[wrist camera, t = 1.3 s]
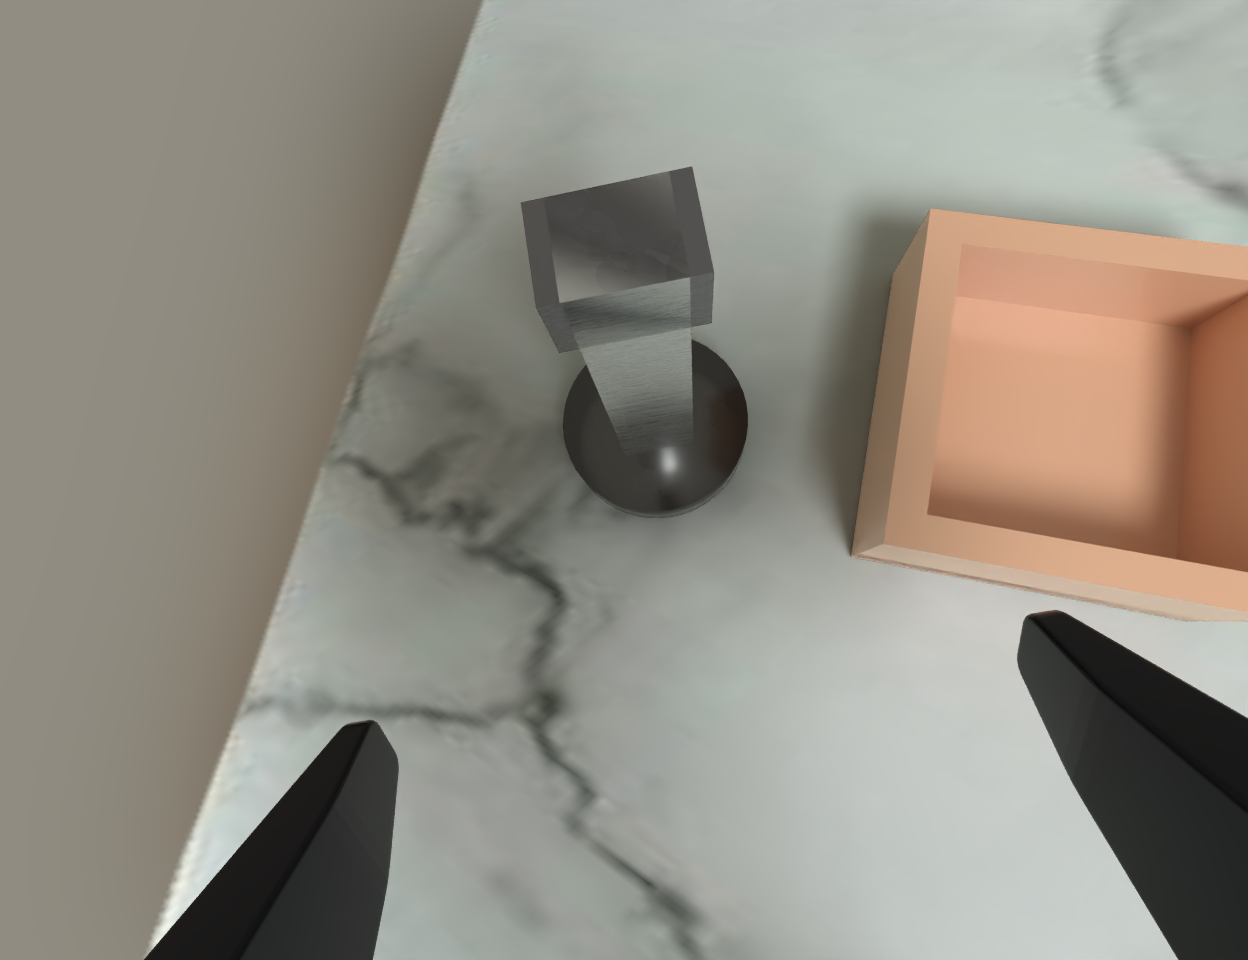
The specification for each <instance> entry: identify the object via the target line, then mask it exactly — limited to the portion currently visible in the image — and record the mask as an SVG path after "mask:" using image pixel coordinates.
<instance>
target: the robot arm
mask: <svg viewBox="0 0 1248 960" xmlns="http://www.w3.org/2000/svg"><path fill="white" fill-rule="evenodd" d="M1017 662H1018V667H1019V670H1020V673H1021V675H1022V678H1023V680H1024V682H1025V684H1026V686H1027V688H1028V691H1029V693H1030V695H1031V697H1032V699H1033V701H1034V703H1035V705H1036V708H1037V710H1038V712H1039V714H1040V716H1041V718H1042V720H1043V723H1044V725H1045V727H1046V729H1047V731H1048V733H1049V735H1050V738H1051V740H1052V742H1053V744H1054V746H1055V748H1056V750H1057V753H1058V755H1059V757H1060V759H1061V761H1062V763H1063V765H1064V767H1065V769H1066V771H1067V773H1068V775H1069V777H1070V779H1071V781H1072V783H1073V785H1074V787H1075V788H1076V790H1077V792H1078V794H1079V795H1080V797H1081V799H1082V801H1083V802H1084V804H1085V806H1086V807H1087V809H1088V811H1089V812H1090V814H1091V816H1092V817H1093V819H1094V821H1095V822H1096V824H1097V826H1098V827H1099V829H1100V830H1101V832H1102V834H1103V835H1104V837H1105V839H1106V840H1107V842H1108V844H1109V845H1110V847H1111V849H1112V850H1113V852H1114V854H1115V855H1116V857H1117V859H1118V860H1119V862H1120V864H1121V865H1122V867H1123V869H1124V870H1125V872H1126V874H1127V875H1128V877H1129V879H1130V880H1131V882H1132V884H1133V885H1134V887H1135V889H1136V890H1137V892H1138V894H1139V895H1140V897H1141V899H1142V900H1143V902H1144V904H1145V905H1146V907H1147V909H1148V910H1149V912H1150V914H1151V915H1152V917H1153V918H1154V920H1155V922H1156V923H1157V925H1158V927H1159V928H1160V930H1161V932H1162V933H1163V935H1164V937H1165V938H1166V940H1167V942H1168V943H1169V945H1170V947H1171V948H1172V950H1173V952H1174V953H1175V955H1176V957H1177V958H1178V960H1248V718H1247V717H1245V716H1243V715H1242V714H1240V713H1238V712H1236V711H1235V710H1233V709H1231V708H1229V707H1228V706H1226V705H1224V704H1223V703H1221V702H1219V701H1217V700H1216V699H1214V698H1212V697H1210V696H1209V695H1207V694H1205V693H1203V692H1202V691H1200V690H1198V689H1197V688H1195V687H1193V686H1191V685H1190V684H1188V683H1186V682H1184V681H1183V680H1181V679H1179V678H1177V677H1176V676H1174V675H1172V674H1171V673H1169V672H1167V671H1165V670H1164V669H1162V668H1160V667H1158V666H1157V665H1155V664H1153V663H1151V662H1150V661H1148V660H1146V659H1145V658H1143V657H1141V656H1139V655H1138V654H1136V653H1134V652H1132V651H1131V650H1129V649H1127V648H1125V647H1124V646H1122V645H1120V644H1119V643H1117V642H1115V641H1113V640H1112V639H1110V638H1108V637H1106V636H1105V635H1103V634H1101V633H1099V632H1098V631H1096V630H1094V629H1093V628H1091V627H1089V626H1087V625H1086V624H1084V623H1082V622H1080V621H1079V620H1077V619H1075V618H1073V617H1072V616H1070V615H1068V614H1066V613H1064V612H1061V611H1058V610H1052V611H1045V612H1039V613H1033V614H1029V615H1028V616H1027V617H1026V618H1025V619H1024V622H1023V626H1022V632H1021V637H1020V643H1019V648H1018V653H1017ZM398 771H399V765H398V758H397V755H396V753H395V751H394V749H393V747H392V746H391V744H390V742H389V741H388V739H387V737H386V736H385V734H384V732H383V731H382V729H381V727H380V726H379V724H378V723H377V722H375V721H373V720H366V721H360V722H354V723H349V724H347V725H345V726H343V727H342V728H341V729H340V730H339V731H338V732H337V734H336V735H335V736H334V737H333V738H332V739H331V741H330V742H329V743H328V744H327V745H326V747H325V748H324V749H323V750H322V751H321V752H320V754H319V755H318V756H317V757H316V758H315V759H314V761H313V762H312V763H311V764H310V765H309V766H308V768H307V769H306V770H305V771H304V772H303V774H302V775H301V776H300V777H299V778H298V779H297V781H296V782H295V783H294V784H293V785H292V786H291V788H290V789H289V790H288V791H287V792H286V793H285V795H284V796H283V797H282V798H281V799H280V801H279V802H278V803H277V804H276V805H275V806H274V808H273V809H272V810H271V811H270V812H269V813H268V815H267V816H266V817H265V818H264V819H263V820H262V822H261V823H260V824H259V825H258V826H257V827H256V829H255V830H254V831H253V832H252V833H251V835H250V836H249V837H248V838H247V839H246V840H245V842H244V843H243V844H242V845H241V846H240V847H239V849H238V850H237V851H236V852H235V853H234V854H233V856H232V857H231V858H230V859H229V860H228V862H227V863H226V864H225V865H224V866H223V867H222V869H221V870H220V871H219V872H218V873H217V874H216V876H215V877H214V878H213V879H212V880H211V881H210V883H209V884H208V885H207V886H206V887H205V889H204V890H203V891H202V892H201V893H200V894H199V896H198V897H197V898H196V899H195V900H194V901H193V903H192V904H191V905H190V906H189V907H188V908H187V910H186V911H185V912H184V913H183V914H182V916H181V917H180V918H179V919H178V920H177V921H176V923H175V924H174V925H173V926H172V927H171V928H170V930H169V931H168V932H167V933H166V934H165V935H164V937H163V938H162V939H161V940H160V941H159V943H158V944H157V945H156V946H155V947H154V948H153V950H152V951H151V952H150V953H149V954H148V955H147V957H146V958H145V959H144V960H373V956H374V951H375V946H376V941H377V936H378V931H379V926H380V921H381V915H382V910H383V905H384V900H385V895H386V889H387V883H388V876H389V868H390V859H391V848H392V837H393V826H394V815H395V804H396V793H397V783H398Z"/></svg>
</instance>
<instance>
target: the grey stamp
mask: <svg viewBox="0 0 1248 960" xmlns="http://www.w3.org/2000/svg"><path fill="white" fill-rule="evenodd" d="M521 206H522V213H523V220H524V227H525V234H526V241H527V247H528V254H529V261H530V268H531V275H532V282H533V289H534V295H535V302H536V308H537V310H538V312H539V314H540V316H541V318H542V320H543V322H544V324H545V326H546V327H547V329H548V331H549V333H550V335H551V337H552V339H553V341H554V343H555V345H556V347H557V349H558V351H559V353H561V352H566V351H571V350H576V349H580V351H581V353H582V356H583V358H584V360H585V363H586V366H585V367H584V368H583V369H582V371H581V372H580V373H579V375H578V376H577V378H576V380H575V381H574V383H573V385H572V387H571V389H570V392H569V395H568V398H567V401H566V405H565V410H564V419H563V429H564V439H565V443H566V448H567V451H568V453H569V456H570V459H571V461H572V463H573V464H574V466H575V468H576V470H577V471H578V473H579V474H580V475H581V477H582V478H583V480H584V481H585V482H586V483H587V484H588V486H589V487H590V488H591V489H592V490H593V491H594V492H595V493H596V494H597V495H598V496H599V497H600V498H601V499H603V500H604V501H605V502H606V503H608V504H610V505H611V506H613V507H615V508H616V509H619V510H621V511H623V512H625V513H628V514H632V515H635V516H640V517H647V518H665V517H673V516H677V515H681V514H685V513H687V512H690V511H692V510H695V509H697V508H698V507H700V506H702V505H704V504H705V503H707V502H708V501H710V500H711V499H712V498H714V497H715V496H716V495H717V494H718V493H719V492H720V491H721V490H722V489H723V488H724V487H725V485H726V484H727V483H728V482H729V480H730V479H731V477H732V476H733V474H734V472H735V471H736V468H737V466H738V464H739V461H740V458H741V455H742V451H743V448H744V444H745V440H746V435H747V428H748V413H747V405H746V401H745V397H744V393H743V390H742V388H741V386H740V384H739V381H738V380H737V378H736V376H735V375H734V373H733V371H732V370H731V369H730V368H729V366H728V365H727V364H726V363H725V362H724V361H723V360H722V359H721V358H720V357H719V356H718V355H717V354H716V353H714V352H713V351H712V350H710V349H709V348H707V347H706V346H704V345H702V344H700V343H698V342H696V341H694V340H691V327H694V326H699V325H705V324H710V323H712V303H713V282H714V270H713V265H712V260H711V255H710V251H709V246H708V241H707V236H706V231H705V227H704V222H703V217H702V212H701V207H700V203H699V198H698V193H697V188H696V183H695V179H694V174H693V169H692V167H687V168H683V169H678V170H673V171H668V172H664V173H659V174H654V175H649V176H645V177H640V178H635V179H630V180H626V181H621V182H616V183H612V184H607V185H602V186H597V187H593V188H588V189H583V190H578V191H574V192H569V193H564V194H559V195H555V196H550V197H545V198H540V199H536V200H531V201H526V202H522V203H521Z"/></svg>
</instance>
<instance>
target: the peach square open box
mask: <svg viewBox="0 0 1248 960" xmlns="http://www.w3.org/2000/svg"><path fill="white" fill-rule="evenodd" d="M851 557H854V558H859V559H864V560H870V561H875V562H880V563H885V564H890V565H896V566H901V567H906V568H911V569H917V570H922V571H927V572H932V573H937V574H943V575H948V576H953V577H958V578H963V579H969V580H974V581H979V582H984V583H990V584H995V585H1000V586H1005V587H1010V588H1016V589H1021V590H1026V591H1031V592H1036V593H1042V594H1047V595H1052V596H1057V597H1063V598H1068V599H1073V600H1078V601H1083V602H1089V603H1094V604H1099V605H1104V606H1110V607H1115V608H1120V609H1125V610H1130V611H1136V612H1141V613H1146V614H1151V615H1156V616H1162V617H1167V618H1172V619H1177V620H1183V621H1227V622H1248V247H1245V246H1237V245H1228V244H1220V243H1212V242H1203V241H1195V240H1187V239H1179V238H1170V237H1162V236H1154V235H1146V234H1137V233H1129V232H1121V231H1113V230H1104V229H1096V228H1088V227H1079V226H1071V225H1063V224H1055V223H1046V222H1038V221H1030V220H1022V219H1013V218H1005V217H997V216H989V215H980V214H972V213H964V212H955V211H947V210H939V209H930V210H929V212H928V214H927V216H926V217H925V219H924V221H923V223H922V224H921V226H920V228H919V230H918V232H917V233H916V235H915V237H914V239H913V240H912V242H911V244H910V246H909V247H908V249H907V251H906V253H905V254H904V256H903V258H902V260H901V261H900V263H899V265H898V267H897V268H896V270H895V272H894V274H893V276H892V283H891V289H890V296H889V303H888V310H887V316H886V323H885V330H884V337H883V343H882V350H881V357H880V363H879V370H878V377H877V384H876V390H875V397H874V404H873V411H872V417H871V424H870V431H869V438H868V444H867V451H866V458H865V465H864V471H863V478H862V485H861V492H860V498H859V505H858V512H857V518H856V525H855V532H854V539H853V545H852V552H851Z"/></svg>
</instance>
